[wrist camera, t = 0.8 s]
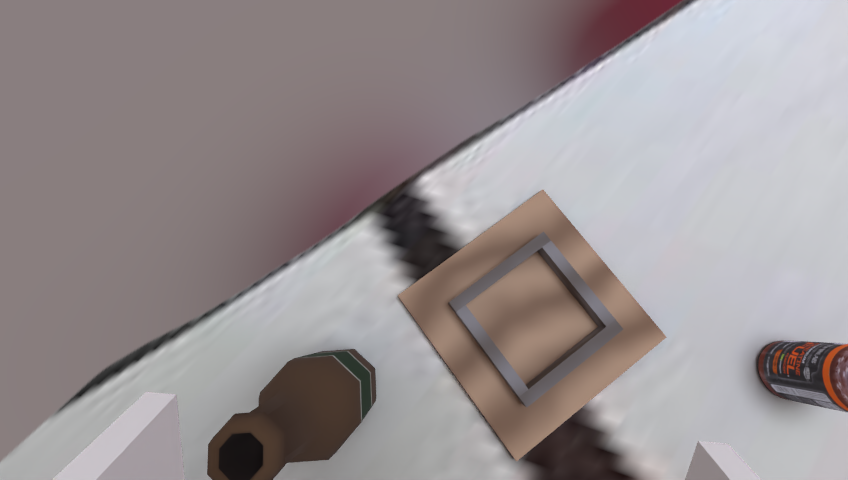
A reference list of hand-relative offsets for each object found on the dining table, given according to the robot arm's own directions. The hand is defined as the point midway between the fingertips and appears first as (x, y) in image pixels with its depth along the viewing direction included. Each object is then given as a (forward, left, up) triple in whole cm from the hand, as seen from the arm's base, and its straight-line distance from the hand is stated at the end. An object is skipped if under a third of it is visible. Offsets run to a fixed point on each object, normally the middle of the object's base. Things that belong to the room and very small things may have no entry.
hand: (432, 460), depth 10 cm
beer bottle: (+3, +9, -33) cm, 35 cm away
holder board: (-3, -11, -33) cm, 35 cm away
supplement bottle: (-23, -29, -33) cm, 50 cm away
